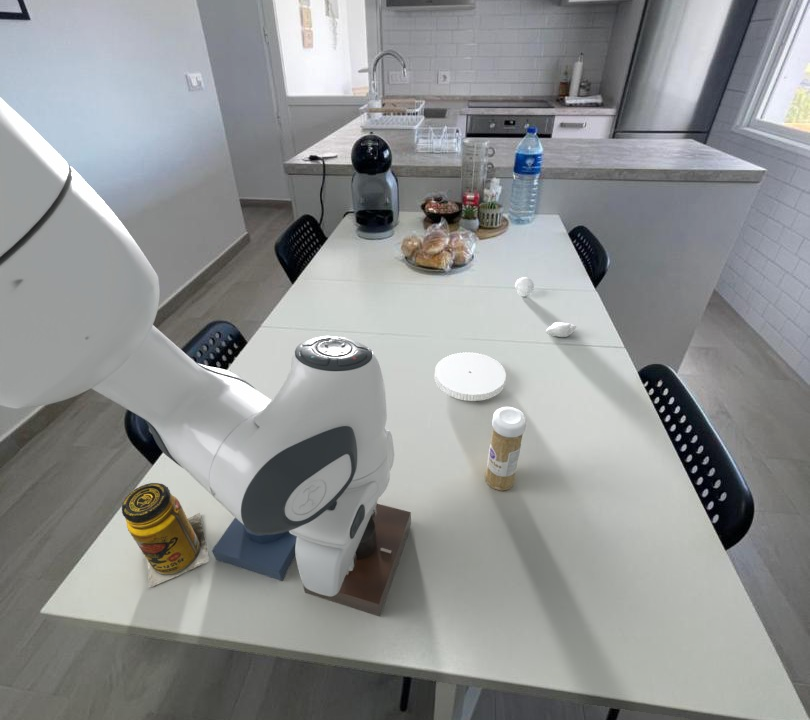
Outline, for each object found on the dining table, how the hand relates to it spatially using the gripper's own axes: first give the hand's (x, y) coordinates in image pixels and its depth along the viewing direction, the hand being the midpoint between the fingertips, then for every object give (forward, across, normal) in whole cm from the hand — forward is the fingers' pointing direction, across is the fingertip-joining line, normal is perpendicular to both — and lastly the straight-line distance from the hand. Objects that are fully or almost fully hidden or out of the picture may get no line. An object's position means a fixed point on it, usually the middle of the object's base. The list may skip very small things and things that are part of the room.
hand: (359, 539), depth 57 cm
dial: (+1, 0, 0) cm, 1 cm away
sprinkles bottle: (+4, -18, +16) cm, 24 cm away
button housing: (+4, 0, -14) cm, 14 cm away
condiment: (+4, +6, -25) cm, 26 cm away
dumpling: (+4, -64, +24) cm, 68 cm away
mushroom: (+4, -82, +14) cm, 83 cm away
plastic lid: (+4, -41, +7) cm, 42 cm away
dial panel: (+4, 0, 0) cm, 4 cm away
